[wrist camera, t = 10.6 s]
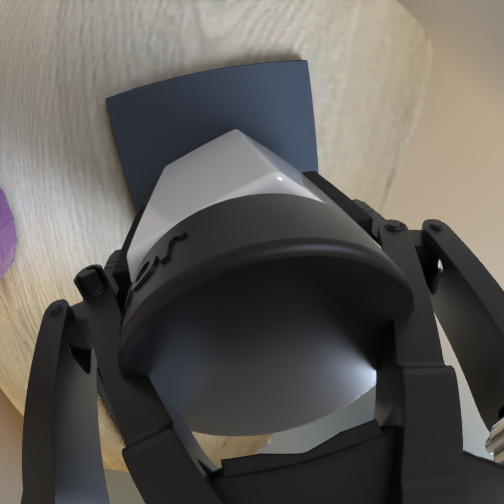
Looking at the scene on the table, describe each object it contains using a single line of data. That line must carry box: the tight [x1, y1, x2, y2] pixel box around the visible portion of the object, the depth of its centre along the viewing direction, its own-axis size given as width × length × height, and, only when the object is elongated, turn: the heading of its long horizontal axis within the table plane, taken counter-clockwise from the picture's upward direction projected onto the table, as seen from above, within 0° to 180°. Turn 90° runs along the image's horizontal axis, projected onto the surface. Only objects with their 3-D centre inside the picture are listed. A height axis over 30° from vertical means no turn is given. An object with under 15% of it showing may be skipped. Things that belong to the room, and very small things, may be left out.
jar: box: [118, 129, 414, 436], centre depth 12 cm, size 9×8×12 cm
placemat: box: [105, 60, 318, 213], centre depth 18 cm, size 16×12×1 cm
